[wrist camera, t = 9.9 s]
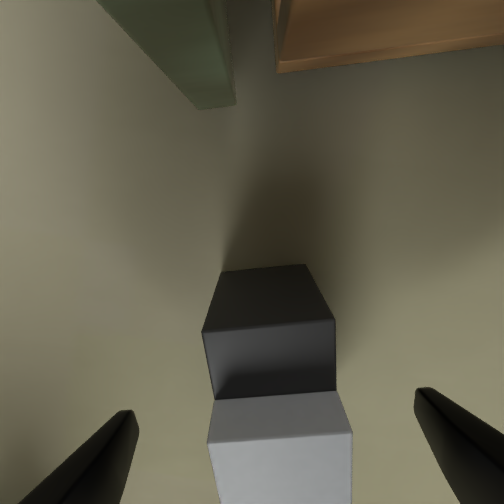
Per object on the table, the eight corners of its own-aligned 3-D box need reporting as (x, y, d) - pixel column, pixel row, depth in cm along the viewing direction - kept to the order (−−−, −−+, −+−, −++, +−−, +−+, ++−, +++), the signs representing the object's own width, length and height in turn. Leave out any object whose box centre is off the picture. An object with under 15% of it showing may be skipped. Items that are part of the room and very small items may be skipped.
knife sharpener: (312, 400, 12) (352, 557, 7) (241, 406, 12) (232, 563, 7) (305, 263, 10) (354, 351, 5) (220, 271, 10) (188, 365, 5)
